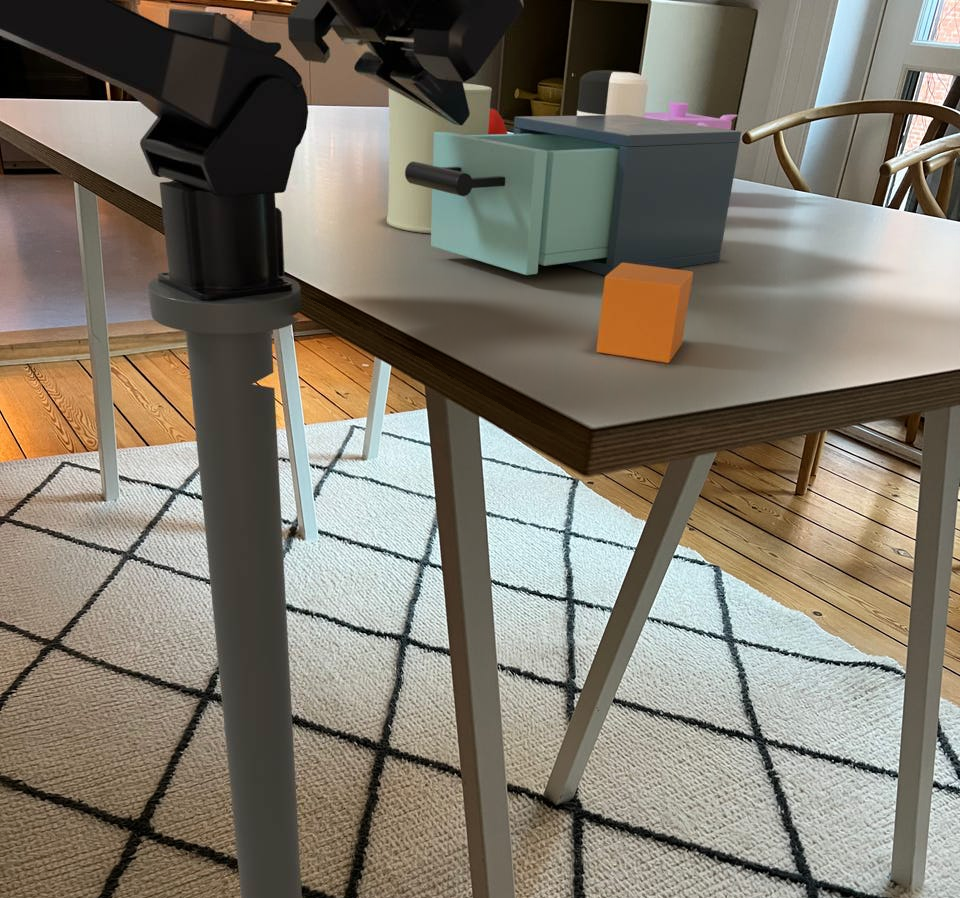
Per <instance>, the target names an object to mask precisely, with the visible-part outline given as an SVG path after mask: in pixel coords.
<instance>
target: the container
mask: <svg viewBox="0 0 960 898" xmlns="http://www.w3.org/2000/svg"><path fill="white" fill-rule="evenodd" d="M648 89H649V83H648V80H647V79H646V78H645V77H644V76H642V75H641V74H639V73H636V72H635V73H634V72H630V71H625V70H624V71H621V70H611V69H609V70H606V69H605V70H603V69H601V70H590V71H589V72H587V73H584V74H583V75H582V76H581V77H580V78H579V88H578V97H577V98H578V99H577V109H576V116H591V115H631V116H638V117H644V113H646V104H647V96H648Z"/></svg>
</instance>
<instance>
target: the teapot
mask: <svg viewBox="0 0 960 898" xmlns="http://www.w3.org/2000/svg"><path fill="white" fill-rule="evenodd" d="M689 106H690V104H689V103H688V102H684V101H683V102H682V101H671V102H669V103H668V108H669V112H645V113H644V117H645V118H652V119H658V120H665V121H672V122H679V123H686V124H693V125H700V126H707V127H713V128H720V129H727V130H732V124H733V121H732V120H734V119H735V118H737V117H738V116H739V115H738V114H723V115H721V116H720V117H712V116H705V115H700V114H693V113H688V110H689Z"/></svg>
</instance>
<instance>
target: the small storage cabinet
mask: <svg viewBox="0 0 960 898" xmlns="http://www.w3.org/2000/svg"><path fill="white" fill-rule="evenodd" d="M529 133H549V134H555V135H561V136H566V137H572V138H578V139H584V140H590V141H595V142H601V143H607V144H613V145H619V146H620V150H619V159H618V167H617V176H616V185H615V193H614V202H613V210H612V219H611V227H610V236H609V245H608V253H607V258H599V259H592V260H584V261H577V262H569V263H562V264H564V265H567V266H571V267H574V268H578V269H581V270H585V271H588V272H592V273H595V274H599V275H603V276H606V275H608V274H609V273H610V272H611V271H612V270H614V269H615V268H616V267H617V266H618V265H620V264H621V263H630V264H638V265H646V266H654V267H662V268H669V269H677V268H684V267H690V266H696V265H703V264H710V263H718V262H720V258H721V252H722V247H723V241H724V236H725V229H726V223H727V218H728V212H729V207H730V201H731V195H732V189H733V188H732V187H733V184H734V178H735V171H736V166H737V160H738V155H739V150H740V149H739V148H740V141H741V137H742V131H740V130H734V129H733V130H732V129H731V130H727V129H720V128H713V127H707V126H700V125H693V124H686V123H679V122H672V121H665V120H658V119H652V118H645V117H638V116H631V115H591V116H577V115H540V116H538V115H535V116H534V115H531V116H528V115H527V116H514V122H513V134H529Z"/></svg>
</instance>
